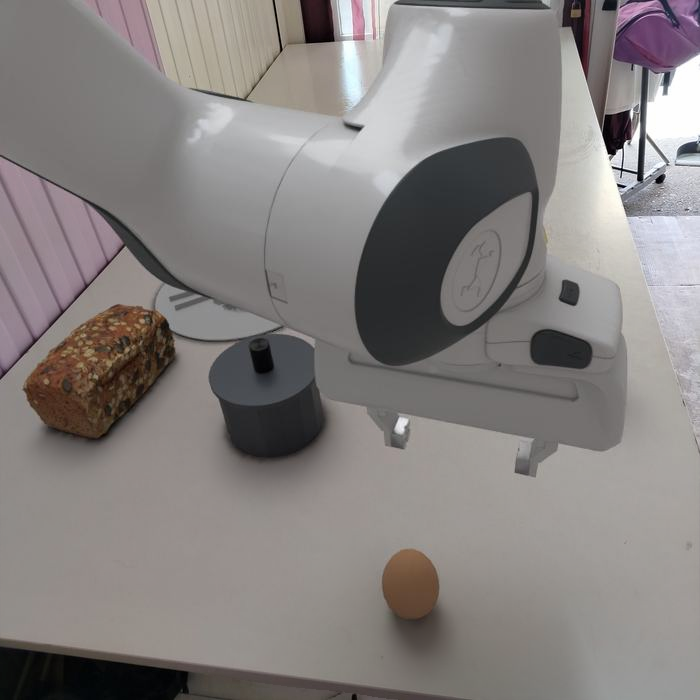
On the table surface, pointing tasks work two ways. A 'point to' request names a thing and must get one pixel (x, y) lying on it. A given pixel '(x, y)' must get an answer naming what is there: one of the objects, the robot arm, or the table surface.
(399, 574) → the egg
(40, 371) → the bread
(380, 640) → the table surface
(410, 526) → the table surface
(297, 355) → the lid
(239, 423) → the pot
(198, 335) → the plate
